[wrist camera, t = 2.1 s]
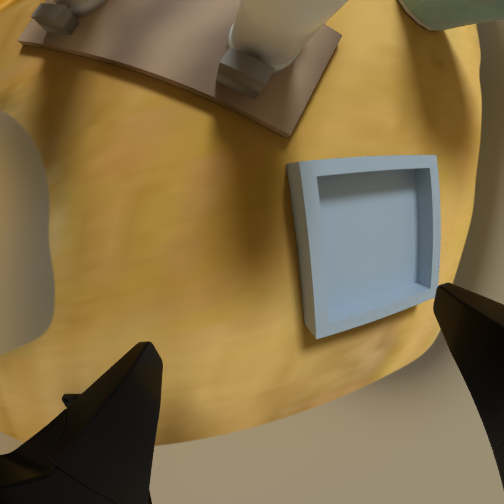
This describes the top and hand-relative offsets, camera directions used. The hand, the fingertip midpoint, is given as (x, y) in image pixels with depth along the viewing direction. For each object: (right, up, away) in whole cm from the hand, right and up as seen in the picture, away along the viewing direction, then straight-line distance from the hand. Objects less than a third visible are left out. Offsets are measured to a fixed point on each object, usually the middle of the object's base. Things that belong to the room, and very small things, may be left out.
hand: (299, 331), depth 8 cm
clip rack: (-7, +19, +6) cm, 21 cm away
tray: (+8, +4, +13) cm, 15 cm away
